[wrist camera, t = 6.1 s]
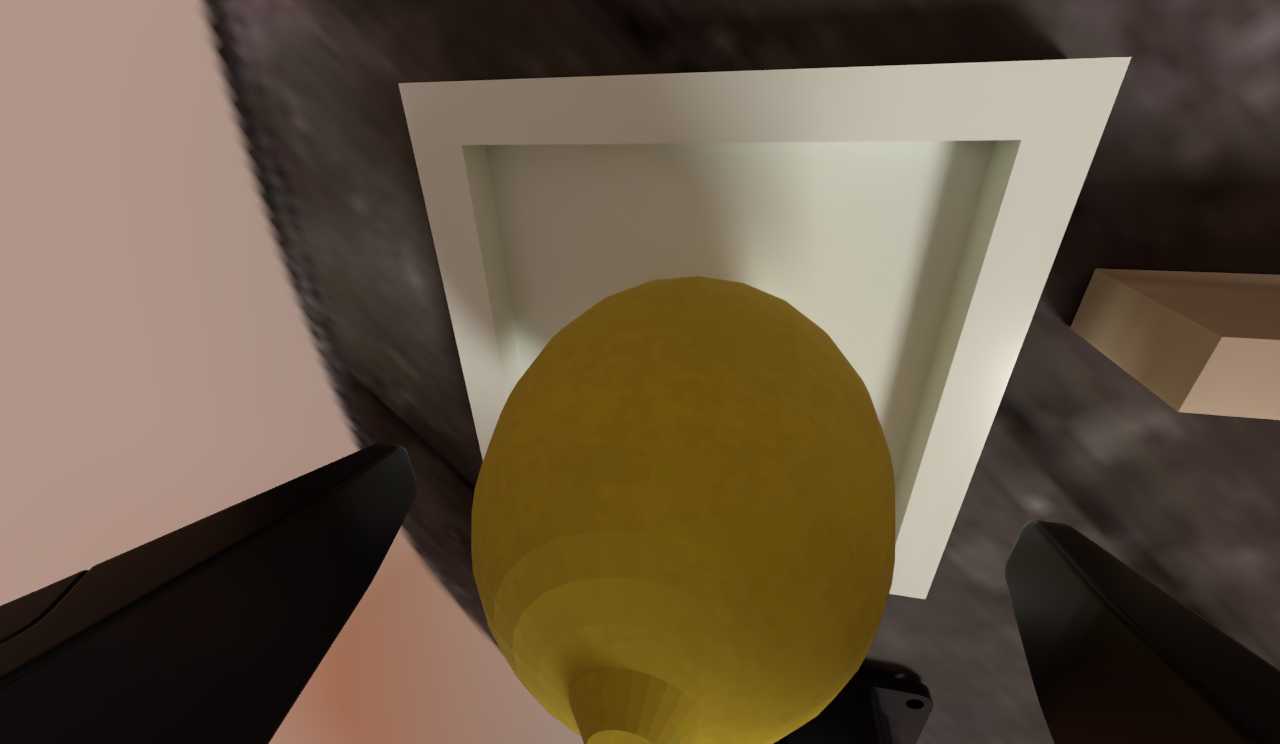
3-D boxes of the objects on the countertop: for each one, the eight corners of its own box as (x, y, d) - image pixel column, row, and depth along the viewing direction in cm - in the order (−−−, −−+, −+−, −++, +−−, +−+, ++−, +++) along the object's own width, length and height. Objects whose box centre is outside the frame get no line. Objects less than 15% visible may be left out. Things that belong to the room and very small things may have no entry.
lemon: (546, 288, 11) (184, 560, 4) (799, 189, 9) (942, 376, 2) (642, 486, 13) (505, 914, 6) (869, 436, 11) (1073, 978, 4)
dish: (909, 550, 13) (925, 598, 12) (521, 497, 15) (499, 534, 14) (1071, 62, 8) (1132, 56, 7) (444, 83, 10) (398, 83, 9)
